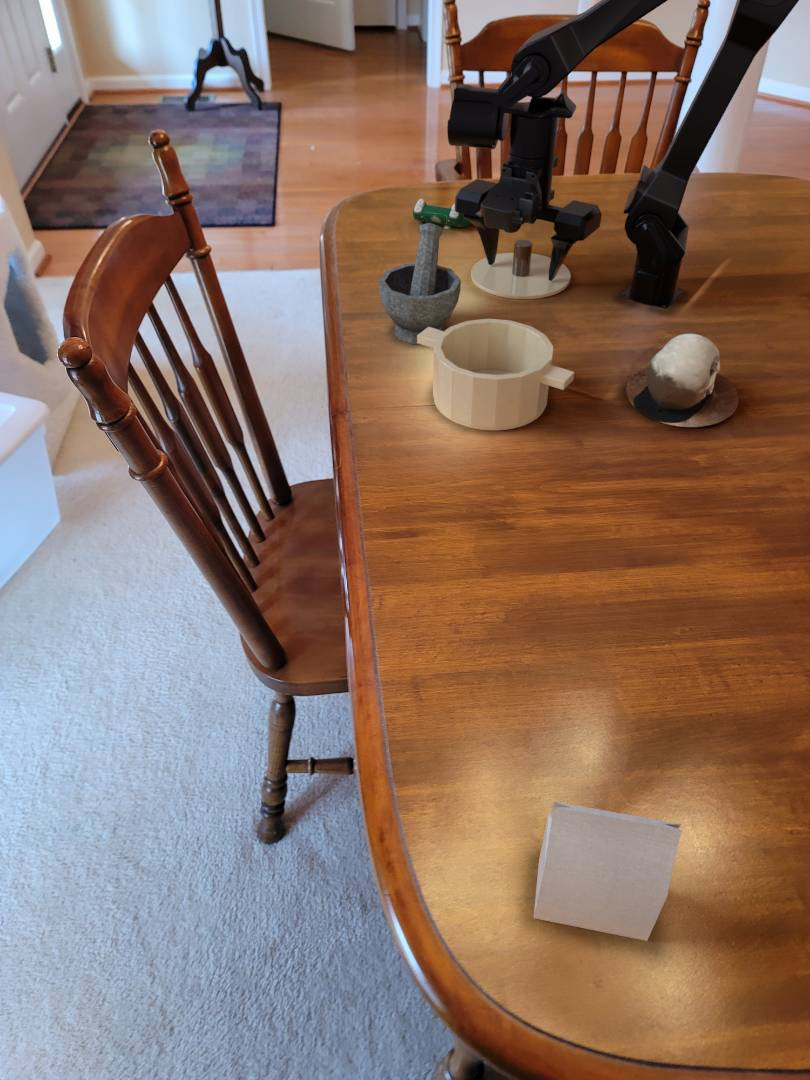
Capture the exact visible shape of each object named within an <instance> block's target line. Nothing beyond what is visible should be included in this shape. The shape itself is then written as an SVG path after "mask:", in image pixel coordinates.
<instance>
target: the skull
mask: <svg viewBox="0 0 810 1080" xmlns="http://www.w3.org/2000/svg"><path fill="white" fill-rule="evenodd" d="M720 358H721V354H720V351H719V349H718V347H717V346H716V344H715V343H714V342H713V341H712V340H710V339H709V338H707V337H705V336H704V335H701V334H698V333H683V334H678V335H676V336H674V337H673V338H671V339H670V340H669V341H668V342H667V343H666V344H665V345H664V346H663V347H662V349H660V350H659V351H658V352H657V353H655V355H654V356H653V357H652V358H651V360H650V363H649V366H648V367H644V368H641V369H640V370H637V372H635V373H634V374H633V375H631V377H629V379H628V381H627V383H626V387H625V392H626V397H627V399H628V401H629V402H630V404H631V406H633V407H634V409H635V410H636V411H637V412H639V413H640V414H641V415H642V416H645V417H646V418H648V419H651V420H653V421H655V422H657V423H662V424H665V425H669V426H675V427H681V428H683V427H684V428H699V427H700V428H701V427H707V426H712V425H716V424H718V423H721V422H722V421H725V420H726V419H728V418H730V417H731V416H732V415H733V414H734V413H735V412H736V410H737V408H738V406H739V401H740V398H739V394H738V391H737V389H736V387H735V386H734V384H733V383H732V382H731V381H730V380H729V379H727V378H726V377H725V376H723V375H722V374H719V373H720V371H721V361H720Z"/></svg>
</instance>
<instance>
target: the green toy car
mask: <svg viewBox="0 0 810 1080" xmlns="http://www.w3.org/2000/svg"><path fill="white" fill-rule="evenodd" d="M463 215H464V214H462V213H458V212H456V211H455V203H453V204H452V206H451V207H443V206H437V205H429V204H427V203H426V202H425V201H424V198H418V200H417V202H416V204H415V206H414V207H413V209H412V216H413V219H414V220H415V221H418V222H419V223H424V224H434V225H439V226H443V229H446V230H451V229H453V228H467V227H469V226H471V225H473V224H472V223H471V222H470V221H469V220H466V219H464V217H463Z"/></svg>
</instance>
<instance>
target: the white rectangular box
mask: <svg viewBox="0 0 810 1080" xmlns="http://www.w3.org/2000/svg"><path fill="white" fill-rule="evenodd" d="M681 826H682V823H677V822H673V821H672V822H671V821H665V820H660V819H654V818H649V817H643V816H638V815H633V814H626V813H621V812H615V811H609V810H603V809H599V808H593V807H587V806H581V805H576V804H571V803H565V802H559V801H554V802H553V806H552V808H551V810H550V811H549V812H548V815H547V819H546V825H545V828H544V829H545V830H544V834H543V840H542V844H541V849H540V855H539V859H538V866H537V878H536V886H535V887H536V888H535V899H534V900H535V901H534V909H533V919H535V920H541V921H546V922H551V923H555V924H560V925H565V926H571V927H575V928H581V929H585V930H590V931H595V932H600V933H605V934H610V935H615V936H620V937H624V938H629V939H635V940H642V941H645V942H648V940H649V938H650V936H651V933H652V932H653V931H652V930H653V929H654V926H655V924H656V923H657V920H658V917H659V916H660V913H661V911H662V909H663V907H664V904H665V903H666V900H667V898H668V895H669V890H670V885H671V880H672V875H673V870H674V865H675V859H676V856H677V851H678V847H679V844H680V839H681V835H682V832H683V830H682V829H680V828H681Z"/></svg>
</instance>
